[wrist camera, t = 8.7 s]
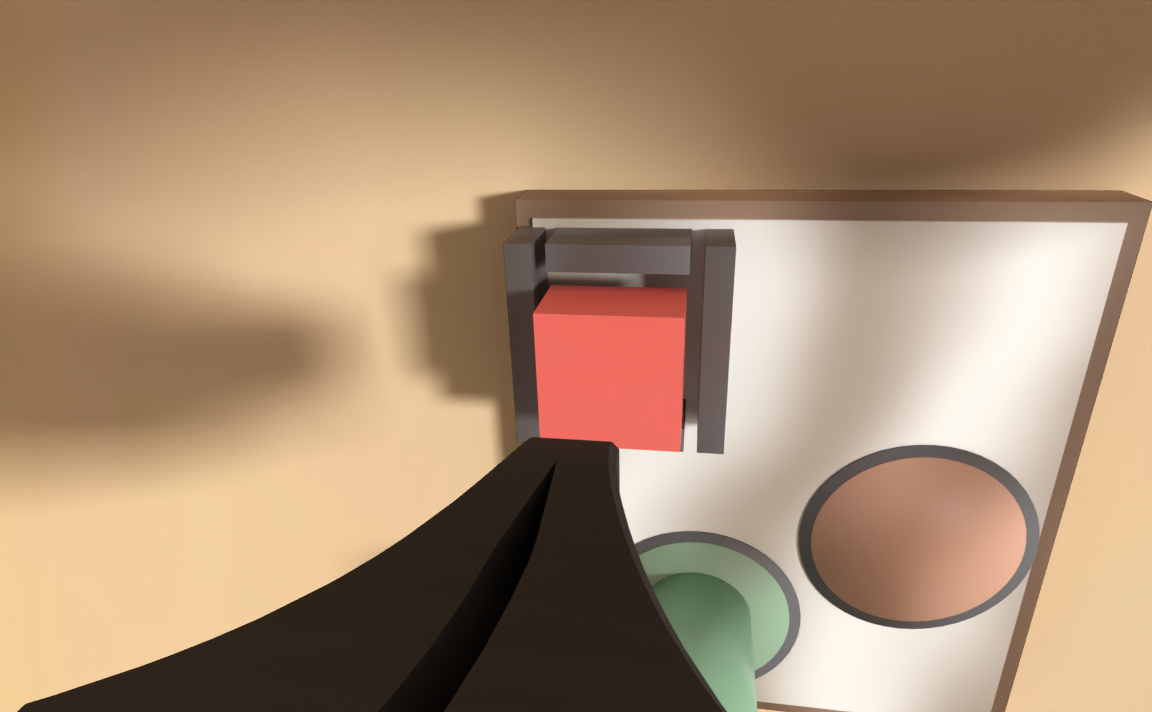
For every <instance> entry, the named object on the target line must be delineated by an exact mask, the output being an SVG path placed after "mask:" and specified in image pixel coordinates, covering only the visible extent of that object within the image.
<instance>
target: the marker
mask: <svg viewBox="0 0 1152 712" xmlns="http://www.w3.org/2000/svg"><path fill="white" fill-rule="evenodd" d="M652 588H653V590H654V592H655V594H656V596H657V598H658V600H659V602H660V604H661V606H662V608H663V610H664V612H665V614H666V616H667V618H668V620H669V622H670V623H671V625H672V627H673V629H674V631H675V632H676V634H677V636H678V638H679V640H680V641H681V643H682V645H683V646H684V648H685V650H686V651H687V653H688V654H689V656H690V657H691V659H692V660H693V662H694V663H695V665H696V666H697V668H698V669H699V671H700V672H701V674H702V676H703V677H704V679H705V680H706V682H707V683H708V685H709V686H710V688H711V689H712V691H713V692H714V694H715V695H716V697H717V698H718V700H719V701H720V703H721V704H722V706H723V707H724V708H725V709H726V711H727V712H757V698H756V685H755V671H754V657H753V644H752V630H751V616H750V610H749V607H748V604H747V602H746V601H745V599H744V597H743V596H742V595H741V594H740V592H739V591H738V590H737V589H735V588H734V587H733V586H732V585H730V584H729V583H727V582H726V581H724V580H722V579H719V578H717V577H714V576H711V575H707V574H702V573H680V574H675V575H672V576H669V577H666V578H664V579H662V580H660V581H659V582H657V583H656V584H655V585H653V586H652Z"/></svg>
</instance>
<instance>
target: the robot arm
mask: <svg viewBox="0 0 1152 712" xmlns="http://www.w3.org/2000/svg"><path fill="white" fill-rule="evenodd" d="M18 712H727V711H726V709H725V708H724V707H723V706H722V704H721V703H720V701H719V700H718V698H717V697H716V695H715V694H714V692H713V691H712V689H711V688H710V686H709V685H708V683H707V682H706V680H705V679H704V677H703V676H702V674H701V672H700V671H699V669H698V668H697V666H696V665H695V663H694V662H693V660H692V659H691V657H690V656H689V654H688V653H687V651H686V650H685V648H684V646H683V645H682V643H681V641H680V640H679V638H678V636H677V634H676V632H675V631H674V629H673V627H672V625H671V623H670V622H669V620H668V618H667V616H666V614H665V612H664V610H663V608H662V606H661V604H660V602H659V600H658V598H657V596H656V594H655V592H654V590H653V588H652V586H651V584H650V581H649V579H648V577H647V575H646V572H645V570H644V568H643V565H642V562H641V560H640V557H639V555H638V552H637V549H636V547H635V544H634V541H633V538H632V535H631V532H630V530H629V526H628V523H627V519H626V515H625V512H624V508H623V505H622V501H621V496H620V472H619V448H618V447H617V446H616V445H615V444H614V443H613V442H610V441H592V440H575V439H557V438H540V437H530V438H529V439H528V440H527V441H525V442H524V443H523V444H522V445H521V446H519V447H518V448H517V449H516V450H515V451H514V452H512V453H511V454H510V455H509V456H508V457H507V458H505V459H504V460H503V461H502V462H501V463H500V464H498V465H497V466H496V467H495V468H494V469H493V470H491V471H490V472H489V473H488V474H487V475H485V476H484V477H483V478H482V479H481V480H480V481H478V482H477V483H476V484H475V485H473V486H472V487H471V488H470V489H469V490H467V491H466V492H465V493H464V494H463V495H461V496H460V497H459V498H458V499H456V500H455V501H454V502H453V503H451V504H450V505H448V506H447V507H446V508H444V509H443V510H442V511H440V512H439V513H438V514H436V515H435V516H433V517H432V518H431V519H429V520H428V521H427V522H425V523H424V524H423V525H421V526H420V527H418V528H417V529H416V530H414V531H413V532H412V533H410V534H409V535H407V536H406V537H405V538H403V539H402V540H400V541H399V542H397V543H396V544H394V545H393V546H391V547H390V548H388V549H387V550H385V551H383V552H382V553H380V554H379V555H377V556H376V557H374V558H372V559H371V560H369V561H367V562H366V563H364V564H362V565H360V566H359V567H357V568H355V569H354V570H352V571H350V572H349V573H347V574H345V575H344V576H342V577H340V578H338V579H336V580H335V581H333V582H331V583H329V584H327V585H325V586H323V587H321V588H319V589H317V590H315V591H313V592H311V593H309V594H307V595H305V596H303V597H301V598H299V599H297V600H295V601H293V602H291V603H289V604H287V605H285V606H283V607H281V608H279V609H277V610H275V611H273V612H271V613H269V614H267V615H265V616H263V617H261V618H259V619H257V620H255V621H252V622H250V623H248V624H246V625H243V626H241V627H239V628H236V629H234V630H232V631H229V632H227V633H225V634H222V635H220V636H218V637H216V638H213V639H211V640H208V641H206V642H203V643H201V644H198V645H196V646H193V647H190V648H188V649H185V650H183V651H180V652H178V653H175V654H173V655H170V656H168V657H165V658H162V659H160V660H157V661H154V662H151V663H149V664H146V665H143V666H141V667H138V668H135V669H132V670H129V671H126V672H123V673H120V674H117V675H114V676H111V677H108V678H105V679H102V680H99V681H96V682H93V683H90V684H87V685H84V686H81V687H78V688H75V689H72V690H69V691H66V692H63V693H60V694H57V695H54V696H50V697H47V698H44V699H40V700H37V701H34V702H31V703H27V704H25V705H24V706H23V707H22V708H21V709H20V710H19V711H18Z"/></svg>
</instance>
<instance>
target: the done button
mask: <svg viewBox="0 0 1152 712" xmlns="http://www.w3.org/2000/svg"><path fill="white" fill-rule="evenodd" d="M686 299H687V288H660V287H616V286H573V285H551V286H550V288H549V289H548V291H547V292H546V294H545V296H544V297H543V299H542V300H541V302H540V303H539V305H538V306H537V308H536V310H535V311H534V313H533V323H534V340H535V358H536V376H537V393H538V411H539V428H540V438H557V439H575V440H592V441H610V442H613V443H614V444H615V445H616V446H617V447H618V448H619V449H636V450H653V451H669V452H680V446H681V430H682V414H683V388H684V358H685V329H686Z"/></svg>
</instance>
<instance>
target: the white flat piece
mask: <svg viewBox="0 0 1152 712" xmlns="http://www.w3.org/2000/svg"><path fill="white" fill-rule="evenodd" d="M515 206H516V222H517V231H516V232H514V233H513V234H512V235H511V236H510V237H509V238H508V239H507V240H506V241H505V242H504V243H503V248H504V262H505V276H506V290H507V304H508V318H509V332H510V346H511V360H512V374H513V388H514V402H515V416H516V430H517V442H525V441H527V440H528V439H529V438H530V437H540V428H539V411H538V393H537V376H536V358H535V340H534V323H533V313H534V311H535V310H536V308H537V306H538V305H539V303H540V302H541V300H542V299H543V297H544V296H545V294H546V292H547V291H548V289H549V288H550V286H551V285H573V286H616V287H660V288H687V299H686V329H685V358H684V388H683V414H682V430H681V446H680V452H669V451H653V450H636V449H619V472H620V496H621V501H622V505H623V508H624V512H625V515H626V519H627V523H628V526H629V530H630V532H631V535H632V538H633V541H634V544H635V547H636V549H637V552H638V555H639V557H640V560H641V562H642V565H643V568H644V570H645V572H646V575H647V577H648V579H649V581H650V584H651V586H653V585H655V584H656V583H657V582H659V581H660V580H662V579H664V578H666V577H669V576H672V575H675V574H680V573H702V574H707V575H711V576H714V577H717V578H719V579H722V580H724V581H726V582H727V583H729V584H730V585H732V586H733V587H734V588H735V589H737V590H738V591H739V592H740V594H741V595H742V596H743V597H744V599H745V601H746V602H747V604H748V607H749V610H750V616H751V630H752V644H753V657H754V671H755V685H756V698H757V708H758V709H767V710H776V711H784V712H1005V710H1006V706H1007V703H1008V699H1009V696H1010V692H1011V689H1012V685H1013V682H1014V679H1015V675H1016V672H1017V668H1018V665H1019V661H1020V658H1021V655H1022V651H1023V648H1024V644H1025V641H1026V637H1027V634H1028V631H1029V627H1030V624H1031V620H1032V617H1033V613H1034V610H1035V607H1036V603H1037V600H1038V596H1039V593H1040V589H1041V586H1042V583H1043V579H1044V576H1045V572H1046V569H1047V565H1048V562H1049V558H1050V555H1051V552H1052V548H1053V545H1054V541H1055V538H1056V534H1057V531H1058V528H1059V524H1060V521H1061V517H1062V514H1063V510H1064V507H1065V504H1066V500H1067V497H1068V493H1069V490H1070V486H1071V483H1072V480H1073V476H1074V473H1075V469H1076V466H1077V462H1078V459H1079V455H1080V452H1081V449H1082V445H1083V442H1084V438H1085V435H1086V431H1087V428H1088V425H1089V421H1090V418H1091V414H1092V411H1093V407H1094V404H1095V401H1096V397H1097V394H1098V390H1099V387H1100V383H1101V380H1102V377H1103V373H1104V370H1105V366H1106V363H1107V359H1108V356H1109V352H1110V349H1111V346H1112V342H1113V339H1114V335H1115V332H1116V328H1117V325H1118V322H1119V318H1120V315H1121V311H1122V308H1123V304H1124V301H1125V298H1126V294H1127V291H1128V287H1129V284H1130V280H1131V277H1132V274H1133V270H1134V267H1135V263H1136V260H1137V256H1138V253H1139V249H1140V246H1141V243H1142V239H1143V236H1144V232H1145V229H1146V225H1147V222H1148V219H1149V215H1150V212H1151V208H1152V201H1149V200H1146V199H1143V198H1141V197H1138V196H1135V195H1132V194H1129V193H1127V192H1124V191H948V190H527V191H525V192H524V193H523V194H522V195H521V196H519V197H518V198H517V199H516V200H515Z"/></svg>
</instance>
